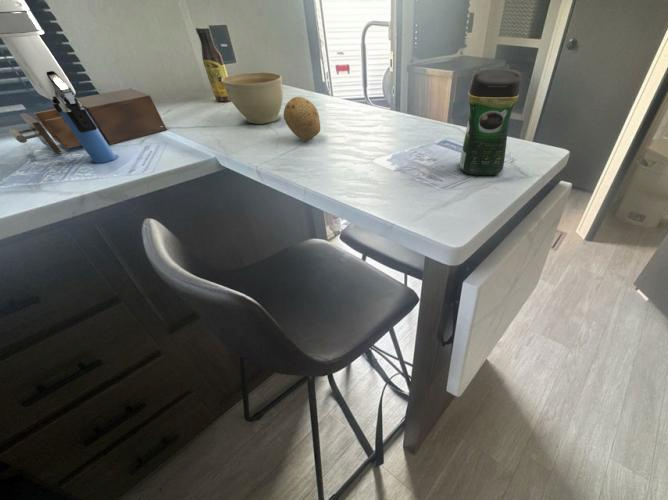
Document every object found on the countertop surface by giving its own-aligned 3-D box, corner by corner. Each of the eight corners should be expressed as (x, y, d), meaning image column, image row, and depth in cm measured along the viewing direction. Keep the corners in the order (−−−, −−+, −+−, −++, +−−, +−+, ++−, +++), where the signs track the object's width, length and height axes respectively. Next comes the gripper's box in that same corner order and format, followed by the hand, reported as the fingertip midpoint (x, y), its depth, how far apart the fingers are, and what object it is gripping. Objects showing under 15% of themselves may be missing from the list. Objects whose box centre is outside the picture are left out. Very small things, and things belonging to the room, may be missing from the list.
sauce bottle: (212, 101, 111) (184, 27, 96) (223, 97, 115) (198, 25, 101) (229, 103, 110) (203, 28, 95) (239, 98, 114) (216, 26, 100)
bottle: (97, 164, 74) (57, 107, 65) (90, 159, 76) (50, 103, 67) (119, 158, 76) (82, 102, 68) (111, 154, 78) (75, 98, 70)
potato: (292, 134, 88) (282, 92, 80) (324, 133, 88) (317, 91, 81) (287, 146, 81) (276, 102, 74) (322, 145, 82) (314, 101, 75)
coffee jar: (499, 162, 74) (520, 65, 60) (503, 177, 68) (528, 74, 55) (458, 161, 74) (470, 64, 61) (459, 175, 69) (472, 73, 55)
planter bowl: (290, 126, 92) (280, 82, 85) (232, 130, 90) (216, 85, 82) (290, 110, 103) (281, 70, 96) (239, 113, 101) (225, 72, 93)
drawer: (33, 159, 74) (7, 128, 69) (21, 148, 79) (-4, 118, 74) (117, 138, 84) (99, 109, 79) (101, 129, 89) (83, 101, 84)
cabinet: (110, 144, 83) (87, 107, 77) (93, 134, 88) (70, 99, 82) (167, 129, 91) (149, 95, 85) (148, 121, 96) (130, 88, 90)
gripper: (-24, 23, 60) (50, 123, 73) (-3, 30, 52) (75, 140, 65) (26, 20, 64) (87, 115, 77) (51, 26, 57) (115, 130, 69)
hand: (81, 126), depth 71 cm, fingers open, 8 cm apart
